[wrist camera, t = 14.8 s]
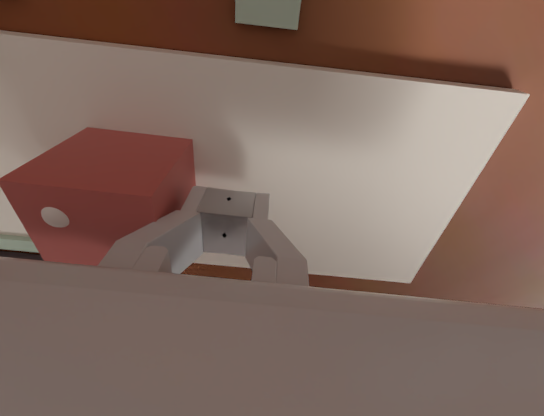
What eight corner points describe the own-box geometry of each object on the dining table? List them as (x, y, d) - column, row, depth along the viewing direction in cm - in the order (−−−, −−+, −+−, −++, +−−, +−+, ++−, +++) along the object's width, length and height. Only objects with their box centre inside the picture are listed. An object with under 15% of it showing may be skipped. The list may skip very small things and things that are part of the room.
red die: (198, 219, 13) (167, 294, 9) (113, 210, 13) (50, 283, 9) (192, 139, 10) (148, 201, 7) (87, 127, 10) (-10, 184, 7)
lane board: (405, 272, 15) (412, 287, 15) (-72, 226, 15) (-95, 240, 14) (578, -21, 8) (616, -25, 7) (-398, -144, 7) (-494, -166, 6)
